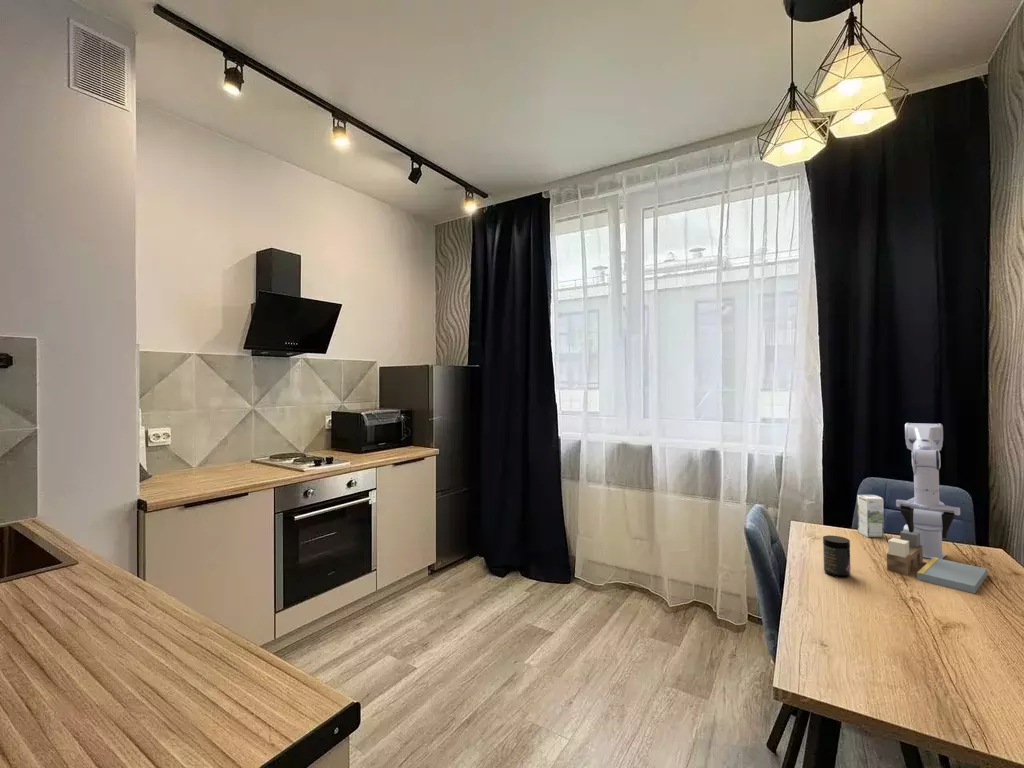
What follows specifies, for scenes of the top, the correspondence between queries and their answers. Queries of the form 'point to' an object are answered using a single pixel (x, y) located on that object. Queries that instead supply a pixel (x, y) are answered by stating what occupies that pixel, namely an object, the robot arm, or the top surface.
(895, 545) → the cream block
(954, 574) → the dock
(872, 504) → the syrup box
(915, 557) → the brown piece
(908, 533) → the gray cube
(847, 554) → the supplement container
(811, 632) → the top surface
